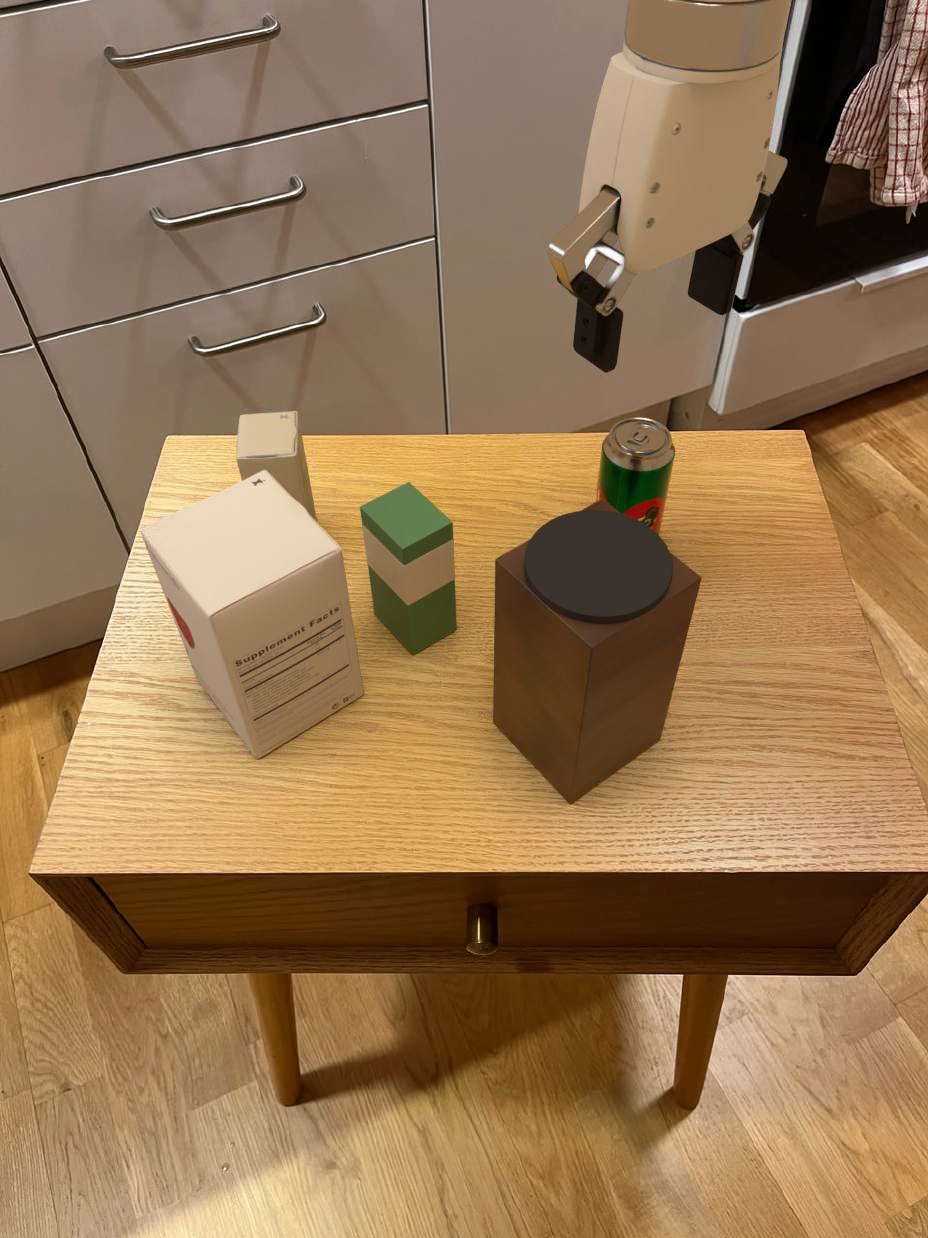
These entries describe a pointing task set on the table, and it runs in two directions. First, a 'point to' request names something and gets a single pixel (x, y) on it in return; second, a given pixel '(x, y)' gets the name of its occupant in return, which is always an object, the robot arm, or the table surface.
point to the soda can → (637, 469)
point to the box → (275, 453)
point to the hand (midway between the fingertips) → (652, 331)
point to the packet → (410, 566)
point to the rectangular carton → (259, 609)
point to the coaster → (598, 566)
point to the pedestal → (584, 676)
